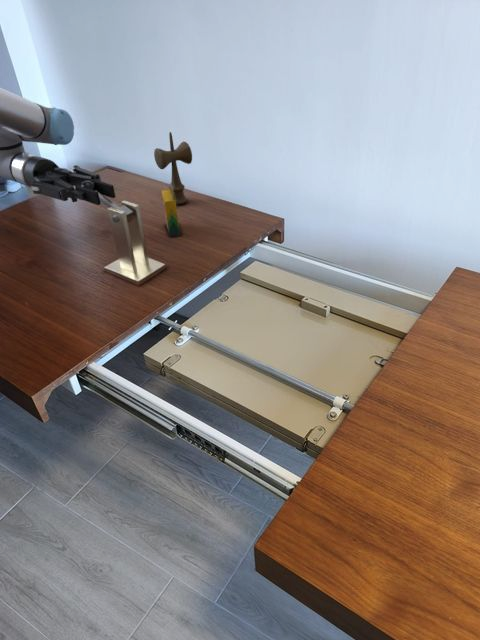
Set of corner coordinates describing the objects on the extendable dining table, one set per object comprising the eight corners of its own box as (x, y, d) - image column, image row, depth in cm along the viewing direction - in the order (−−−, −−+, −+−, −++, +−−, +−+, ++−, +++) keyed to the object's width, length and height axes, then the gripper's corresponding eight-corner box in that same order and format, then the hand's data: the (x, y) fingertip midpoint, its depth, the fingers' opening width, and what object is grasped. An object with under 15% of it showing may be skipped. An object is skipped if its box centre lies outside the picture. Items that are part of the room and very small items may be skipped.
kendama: (197, 201, 142) (191, 131, 128) (169, 210, 137) (159, 137, 124) (187, 195, 145) (180, 126, 132) (159, 203, 141) (149, 132, 128)
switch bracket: (105, 271, 111) (89, 207, 101) (132, 255, 117) (120, 193, 107) (139, 285, 107) (126, 220, 97) (166, 268, 113) (156, 205, 102)
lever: (76, 194, 106) (75, 180, 103) (89, 189, 108) (88, 175, 105) (123, 227, 103) (123, 213, 100) (135, 221, 105) (135, 207, 102)
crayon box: (166, 224, 130) (160, 183, 122) (176, 223, 131) (171, 182, 123) (169, 237, 125) (163, 194, 117) (180, 235, 125) (175, 193, 118)
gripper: (0, 167, 105) (70, 191, 95) (61, 146, 115) (130, 166, 106) (11, 200, 110) (79, 225, 100) (69, 177, 120) (136, 198, 111)
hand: (105, 195), depth 103 cm, fingers closed on lever, 4 cm apart
